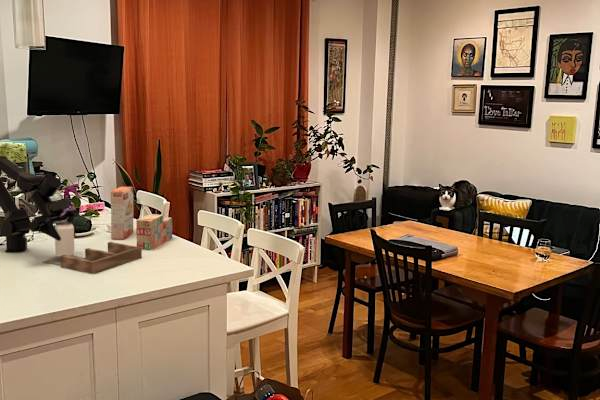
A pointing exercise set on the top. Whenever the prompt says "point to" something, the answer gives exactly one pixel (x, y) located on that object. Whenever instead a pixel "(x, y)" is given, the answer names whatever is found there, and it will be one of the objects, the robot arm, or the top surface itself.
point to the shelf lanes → (102, 258)
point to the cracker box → (121, 212)
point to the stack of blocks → (153, 231)
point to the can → (64, 239)
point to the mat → (58, 260)
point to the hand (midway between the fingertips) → (67, 238)
